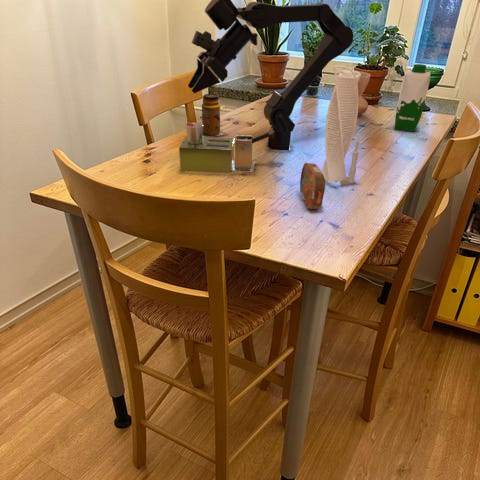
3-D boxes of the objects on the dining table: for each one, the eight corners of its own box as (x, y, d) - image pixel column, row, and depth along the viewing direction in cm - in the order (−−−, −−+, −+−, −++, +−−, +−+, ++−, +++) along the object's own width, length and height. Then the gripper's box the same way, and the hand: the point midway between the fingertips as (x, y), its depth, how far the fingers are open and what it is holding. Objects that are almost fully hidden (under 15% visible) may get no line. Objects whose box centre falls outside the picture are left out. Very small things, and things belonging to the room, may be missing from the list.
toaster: (234, 163, 135) (234, 137, 130) (231, 175, 127) (231, 149, 123) (184, 160, 136) (182, 135, 131) (177, 172, 128) (176, 146, 123)
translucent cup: (204, 139, 129) (203, 121, 126) (201, 144, 125) (201, 126, 122) (188, 139, 129) (187, 120, 126) (185, 144, 125) (184, 125, 123)
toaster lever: (275, 133, 127) (272, 124, 126) (274, 140, 122) (271, 131, 121) (241, 146, 130) (238, 138, 129) (240, 153, 125) (236, 145, 124)
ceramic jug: (335, 106, 190) (340, 67, 181) (370, 111, 185) (377, 71, 176) (322, 117, 177) (327, 75, 168) (360, 122, 172) (367, 80, 163)
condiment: (225, 135, 156) (225, 96, 149) (203, 138, 152) (202, 99, 145) (214, 129, 161) (213, 91, 154) (192, 133, 157) (191, 94, 150)
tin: (298, 190, 120) (301, 157, 115) (310, 189, 120) (314, 157, 115) (310, 215, 108) (314, 180, 103) (323, 215, 108) (328, 180, 103)
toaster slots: (230, 140, 129) (230, 140, 129) (228, 146, 124) (228, 146, 124) (209, 139, 129) (208, 139, 129) (206, 145, 125) (206, 145, 125)
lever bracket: (254, 165, 134) (255, 133, 128) (253, 175, 127) (254, 142, 122) (234, 164, 134) (234, 132, 129) (231, 174, 128) (231, 141, 122)
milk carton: (419, 127, 169) (434, 65, 156) (416, 133, 162) (432, 69, 150) (394, 124, 171) (407, 63, 159) (391, 130, 165) (404, 67, 152)
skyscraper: (328, 188, 121) (345, 68, 104) (312, 177, 127) (326, 62, 110) (355, 183, 124) (376, 66, 107) (338, 173, 130) (355, 60, 113)
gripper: (204, 17, 128) (166, 62, 132) (215, 19, 113) (172, 69, 117) (232, 51, 134) (194, 93, 138) (245, 57, 119) (203, 103, 123)
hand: (190, 89), depth 129 cm, fingers open, 9 cm apart
